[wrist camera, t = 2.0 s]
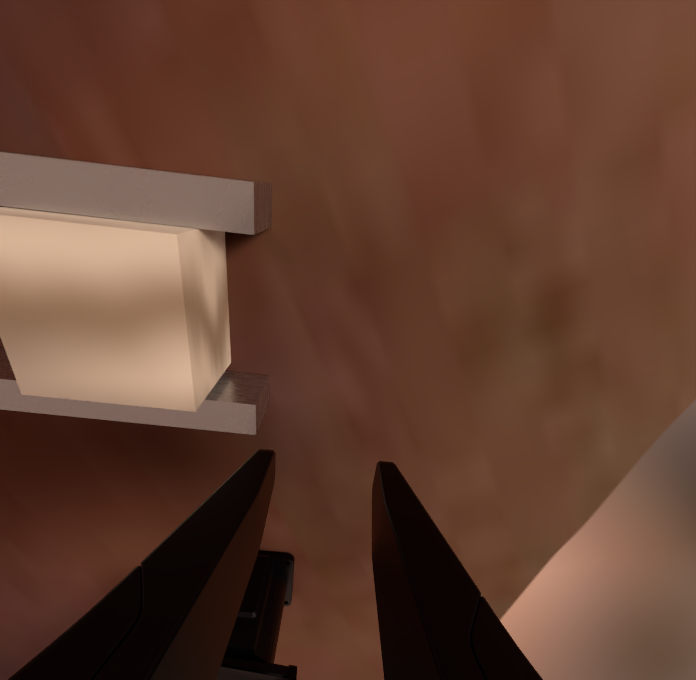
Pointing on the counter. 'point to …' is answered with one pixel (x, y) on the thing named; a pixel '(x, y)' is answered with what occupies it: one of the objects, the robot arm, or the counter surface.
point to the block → (113, 308)
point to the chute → (150, 207)
